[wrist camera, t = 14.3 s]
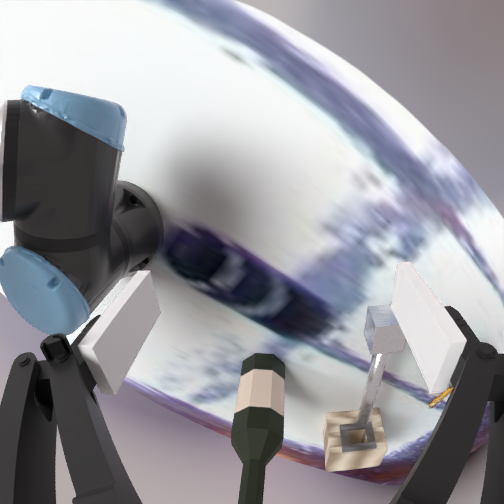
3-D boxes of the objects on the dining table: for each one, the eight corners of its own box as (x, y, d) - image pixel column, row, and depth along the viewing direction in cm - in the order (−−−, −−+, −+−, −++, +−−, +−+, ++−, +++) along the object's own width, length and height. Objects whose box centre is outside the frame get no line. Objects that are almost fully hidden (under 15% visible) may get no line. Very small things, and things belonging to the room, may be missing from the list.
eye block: (323, 431, 64) (325, 471, 53) (326, 411, 60) (330, 454, 50) (371, 427, 62) (379, 465, 52) (378, 406, 59) (388, 447, 49)
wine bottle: (277, 348, 54) (269, 507, 26) (291, 378, 57) (289, 523, 29) (234, 357, 56) (204, 508, 28) (250, 386, 58) (232, 525, 31)
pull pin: (348, 412, 53) (351, 432, 49) (367, 306, 43) (375, 326, 39) (372, 410, 53) (376, 429, 48) (398, 304, 43) (409, 323, 38)
